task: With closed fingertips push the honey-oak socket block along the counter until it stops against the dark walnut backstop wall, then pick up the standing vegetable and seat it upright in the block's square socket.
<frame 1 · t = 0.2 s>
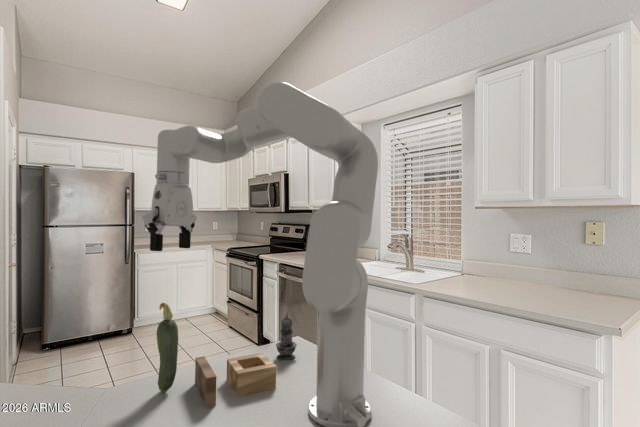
hand: (171, 249, 88), 31 cm above the countertop, tool pointing down, fingers open, 9 cm apart
backstop wall: (204, 393, 78), on the countertop
ornate incense burner: (286, 358, 100), on the countertop
socket block: (250, 373, 83), point 3 cm above the countertop, slide at 0.0 cm
vegetable: (165, 394, 78), on the countertop
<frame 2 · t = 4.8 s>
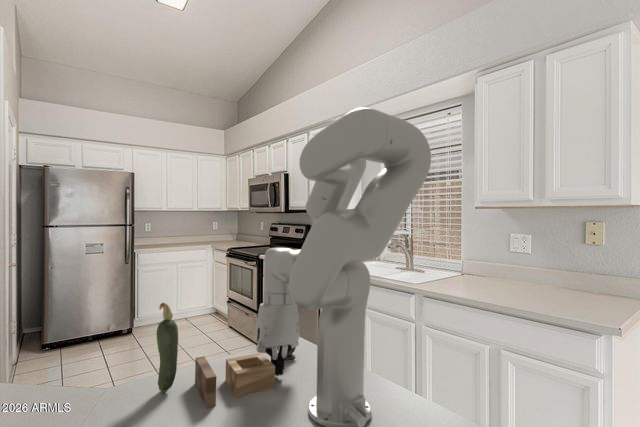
hand: (277, 373, 87), 1 cm above the countertop, tool pointing down, fingers closed
socket block: (249, 373, 83), point 3 cm above the countertop, slide at 0.3 cm, touching gripper
everything else where it was.
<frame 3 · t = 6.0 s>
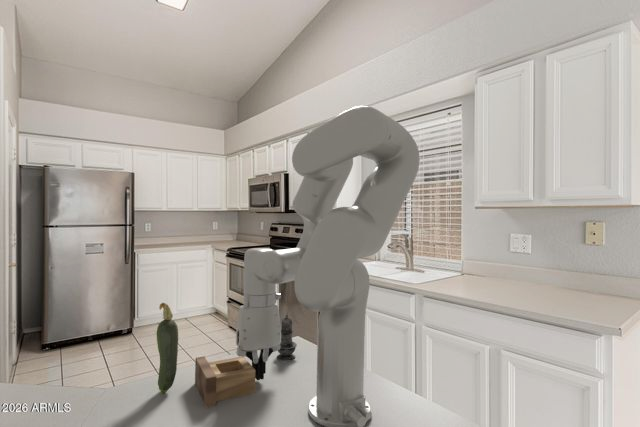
hand: (258, 377, 84), 1 cm above the countertop, tool pointing down, fingers closed
socket block: (229, 377, 81), point 3 cm above the countertop, slide at 5.0 cm, touching backstop wall, gripper
everything else where it was.
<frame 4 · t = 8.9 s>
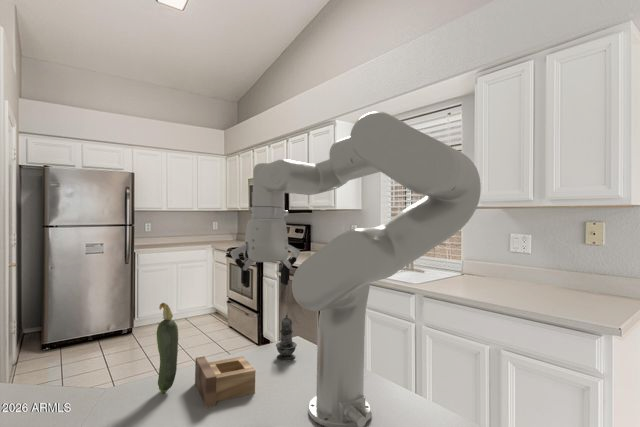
hand: (265, 285, 86), 23 cm above the countertop, tool pointing down, fingers open, 9 cm apart
socket block: (229, 377, 81), point 2 cm above the countertop, slide at 5.0 cm, touching backstop wall
everything else where it was.
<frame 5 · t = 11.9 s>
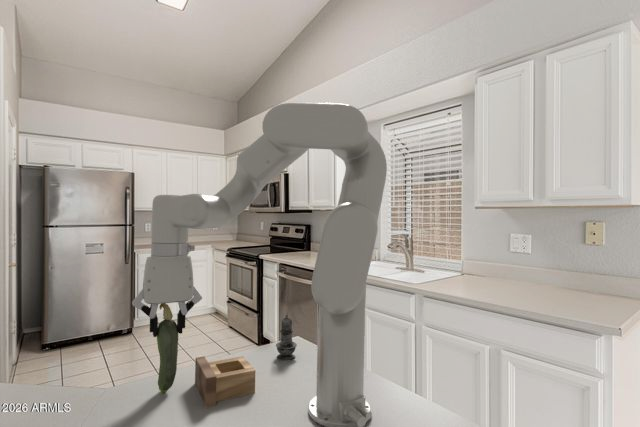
hand: (167, 332, 78), 13 cm above the countertop, tool pointing down, fingers closed on vegetable, 4 cm apart
vegetable: (165, 394, 78), on the countertop, touching gripper
everything else where it was.
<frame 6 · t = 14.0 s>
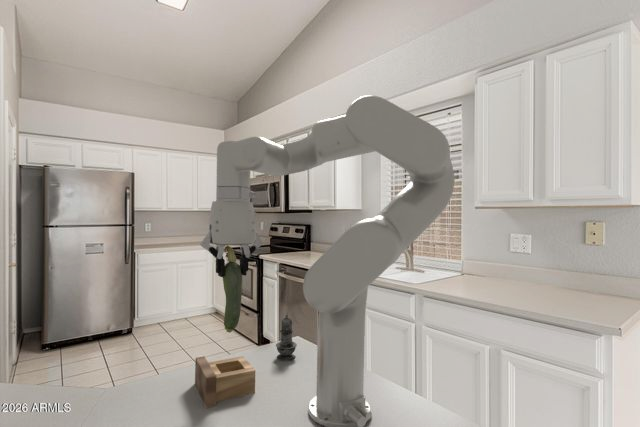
hand: (232, 274, 81), 26 cm above the countertop, tool pointing down, fingers closed on vegetable, 4 cm apart
vegetable: (231, 334, 81), point 12 cm above the countertop, touching gripper
everything else where it was.
when the fingers open (15 cm above the countertop, at t = 16.5 s): vegetable drops 1 cm, resting on socket block.
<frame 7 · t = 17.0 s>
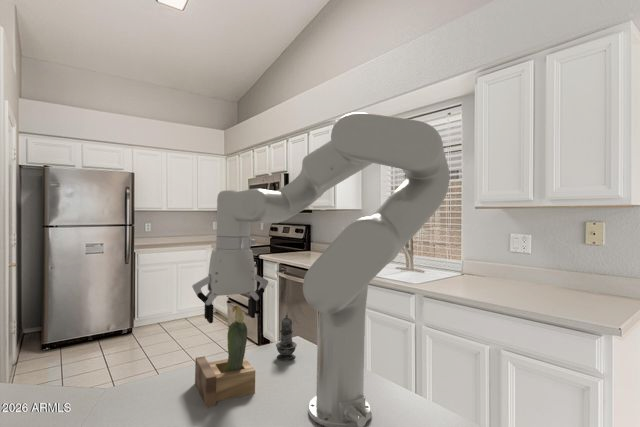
hand: (231, 319, 81), 16 cm above the countertop, tool pointing down, fingers open, 9 cm apart
socket block: (229, 377, 81), point 2 cm above the countertop, slide at 5.0 cm, touching vegetable
vegetable: (229, 388, 81), resting on socket block
everything else where it was.
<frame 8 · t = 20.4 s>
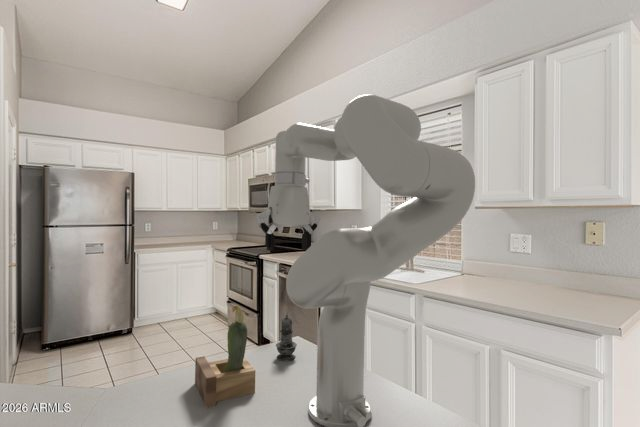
hand: (288, 249, 88), 31 cm above the countertop, tool pointing down, fingers open, 9 cm apart
nothing on the countertop moved.
at the end: socket block slide at 5.0 cm; vegetable 0.1 cm off-centre on the socket block, point 0.0 cm above the socket block's base; vegetable tilted 12° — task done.
